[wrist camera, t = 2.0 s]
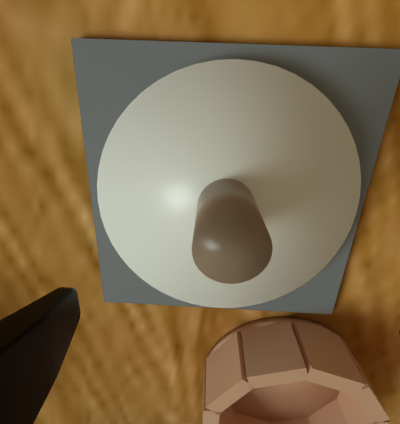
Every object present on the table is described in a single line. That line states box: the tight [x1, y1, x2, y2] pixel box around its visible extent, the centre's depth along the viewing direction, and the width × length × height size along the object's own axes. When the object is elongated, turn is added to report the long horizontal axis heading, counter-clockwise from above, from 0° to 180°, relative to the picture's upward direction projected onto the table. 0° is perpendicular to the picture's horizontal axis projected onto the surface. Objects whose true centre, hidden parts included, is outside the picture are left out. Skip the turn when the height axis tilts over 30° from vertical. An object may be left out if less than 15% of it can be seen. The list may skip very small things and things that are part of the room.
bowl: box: [202, 317, 390, 424], centre depth 19 cm, size 11×12×4 cm
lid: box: [97, 59, 361, 308], centre depth 13 cm, size 14×14×5 cm
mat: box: [71, 38, 400, 314], centre depth 15 cm, size 15×15×1 cm
